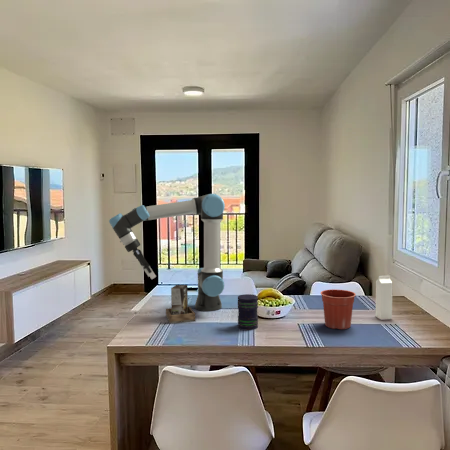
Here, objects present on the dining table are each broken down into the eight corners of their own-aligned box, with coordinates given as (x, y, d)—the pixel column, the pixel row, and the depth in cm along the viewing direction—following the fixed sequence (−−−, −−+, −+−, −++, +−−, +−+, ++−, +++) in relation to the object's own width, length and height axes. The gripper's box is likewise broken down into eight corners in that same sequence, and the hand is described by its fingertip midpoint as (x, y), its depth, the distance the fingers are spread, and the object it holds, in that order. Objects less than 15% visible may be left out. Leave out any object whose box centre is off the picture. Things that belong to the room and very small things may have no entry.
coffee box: (183, 319, 214) (182, 288, 212) (171, 318, 215) (170, 287, 214) (188, 314, 222) (187, 284, 221) (176, 313, 224) (176, 284, 223)
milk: (375, 316, 218) (375, 274, 216) (386, 316, 218) (386, 274, 217) (380, 319, 212) (381, 276, 210) (392, 319, 212) (392, 276, 211)
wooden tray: (190, 313, 227) (189, 306, 227) (195, 321, 214) (195, 313, 213) (166, 316, 224) (165, 308, 223) (170, 323, 210) (169, 315, 210)
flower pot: (354, 332, 193) (354, 298, 192) (318, 329, 199) (318, 295, 197) (356, 322, 208) (356, 290, 207) (322, 319, 214) (322, 288, 213)
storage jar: (234, 325, 206) (234, 295, 205) (252, 322, 210) (252, 293, 209) (243, 331, 197) (243, 300, 196) (261, 328, 201) (261, 297, 200)
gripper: (122, 245, 226) (143, 278, 229) (125, 246, 202) (148, 283, 205) (134, 238, 228) (155, 270, 231) (139, 238, 204) (161, 275, 207)
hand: (152, 276), depth 218 cm, fingers open, 13 cm apart
